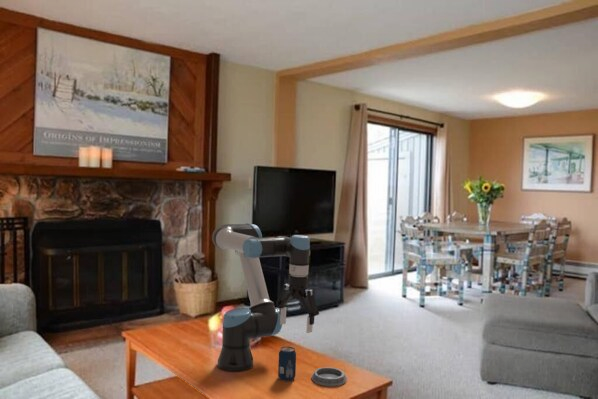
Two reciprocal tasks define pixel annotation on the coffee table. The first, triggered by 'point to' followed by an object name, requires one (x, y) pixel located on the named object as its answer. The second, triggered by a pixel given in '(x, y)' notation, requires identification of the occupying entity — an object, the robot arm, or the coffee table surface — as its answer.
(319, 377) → the can holder
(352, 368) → the coffee table surface
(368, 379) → the coffee table surface
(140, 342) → the coffee table surface
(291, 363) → the soda can
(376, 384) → the coffee table surface
